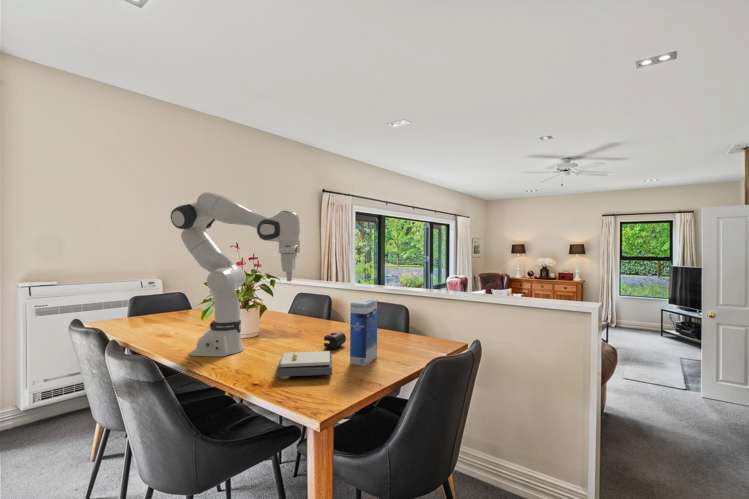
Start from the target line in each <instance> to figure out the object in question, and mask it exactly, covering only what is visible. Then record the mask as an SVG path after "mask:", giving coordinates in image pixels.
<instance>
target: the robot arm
mask: <svg viewBox="0 0 749 499" xmlns="http://www.w3.org/2000/svg"><path fill="white" fill-rule="evenodd" d="M170 220H171V223H172V225H173V226H174V227H175V228H177V229H179V230H182V231H181V233H180V238H181V241H182V243H183V244H184V246H185V247H186V249H187V250H188V252H189V253H190V255H191V256H192V258H194V260H195V261H196V262H197V263H198V264H199V266H200V267H201V268H202V269H204V270H206V271H207V272H209V274H208V276H207V277H206V286H207V287H208V289H209V290H210V291H211V292H210V293H211V295H212V300H213V304H214V320H212V321H211V322H210V324H209V330H208V331H207V332H205V333H204V334H203V335H202V336H200V337H199V338H198V340H197V341H196V342H197V343H196V347H194V348H193V349H192V350H191V352H190V356H192V357H222V358H223V357H226V356H230V355H234V354H237V353H241V352H242V351H244V350H245V349H244V345H243V341H242V334H241V333H242V319H241V302H240V301H239V299H238V295H237V289H239V288H240V287H242V286H243V285H244V284H245V282H246V281H247V280H246V279H247V276H246V273H245V271H244V270H243V269H241V268H240V267H239V266H238V265H237V264H235V262H233V261H232V260H231V259H230V258H229V257H228V256H226V255H225V254H224V252H223V251H221V249H220V248H219V246H217V244H216V243H215V242H214V241H213V239H212V238H211V237H210V236H209V234H208V233H207V230H206V229H208V230H209V229H210V228H211V227H212V225H213V224H214V222H215V221H217V222H221V223H223V224H228V225H239V226H248V227H251V228H254V229H256V233H257V235H258V237H259V239H261V240H263V241H266V242H277V243H278V253H279V254H280V261H281V262H280V264H281V270H282V273H285V275H286V282H292V279H293V271H294V270H296V258H297V257H298V256H297V255H298V254H300V252H301V247H300V246H301V241H300V233H301V225H300V216H299V215H298V214H297V213H296V212H292V211H288V210H280V212H279V213H277V214H275V215H273V216H271V217H269V218H268V217H265V216H264V215H260V214H258V213H256V212H253V211H252V210H250V209H249V208H247V207H245V206H243V205H241V204H240V203H239V202H236V201H234V200H232V199H230V198H228V197H226V196H224V195H220V194H219V193H214V192H206V191H205V192H203V193H200V195H199V196H198V197H197V199H196V202H193V203H188V204H183V205H179V206H176V207H175V208H173V210H171V212H170Z"/></svg>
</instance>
